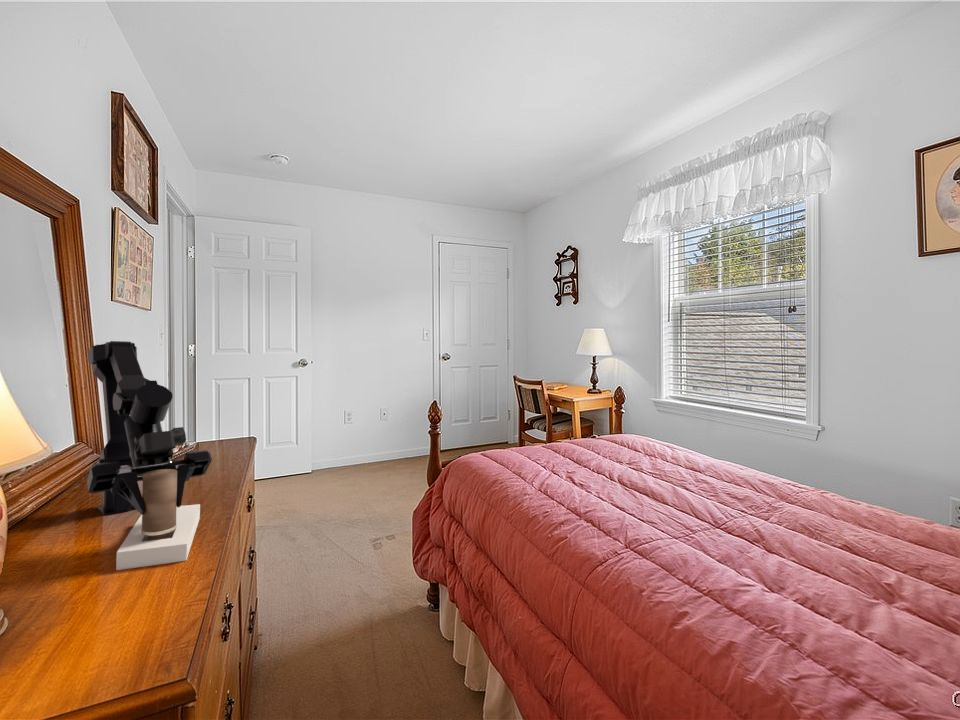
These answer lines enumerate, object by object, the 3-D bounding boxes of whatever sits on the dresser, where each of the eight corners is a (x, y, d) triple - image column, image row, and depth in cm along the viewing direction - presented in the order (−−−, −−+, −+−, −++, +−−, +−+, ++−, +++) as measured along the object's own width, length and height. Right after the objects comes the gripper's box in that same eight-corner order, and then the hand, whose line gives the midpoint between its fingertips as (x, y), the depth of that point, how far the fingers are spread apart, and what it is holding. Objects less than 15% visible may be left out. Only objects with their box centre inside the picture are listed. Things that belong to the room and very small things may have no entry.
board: (144, 523, 98) (144, 509, 98) (199, 517, 103) (200, 504, 102) (116, 570, 78) (116, 552, 78) (186, 560, 83) (186, 543, 83)
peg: (134, 545, 85) (135, 474, 84) (164, 535, 89) (165, 467, 89) (153, 551, 82) (154, 478, 82) (182, 540, 87) (184, 471, 87)
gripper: (91, 418, 81) (104, 497, 74) (209, 410, 95) (229, 476, 88) (82, 455, 86) (93, 531, 79) (195, 442, 100) (213, 506, 93)
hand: (161, 509), depth 85 cm, fingers closed on peg, 5 cm apart
